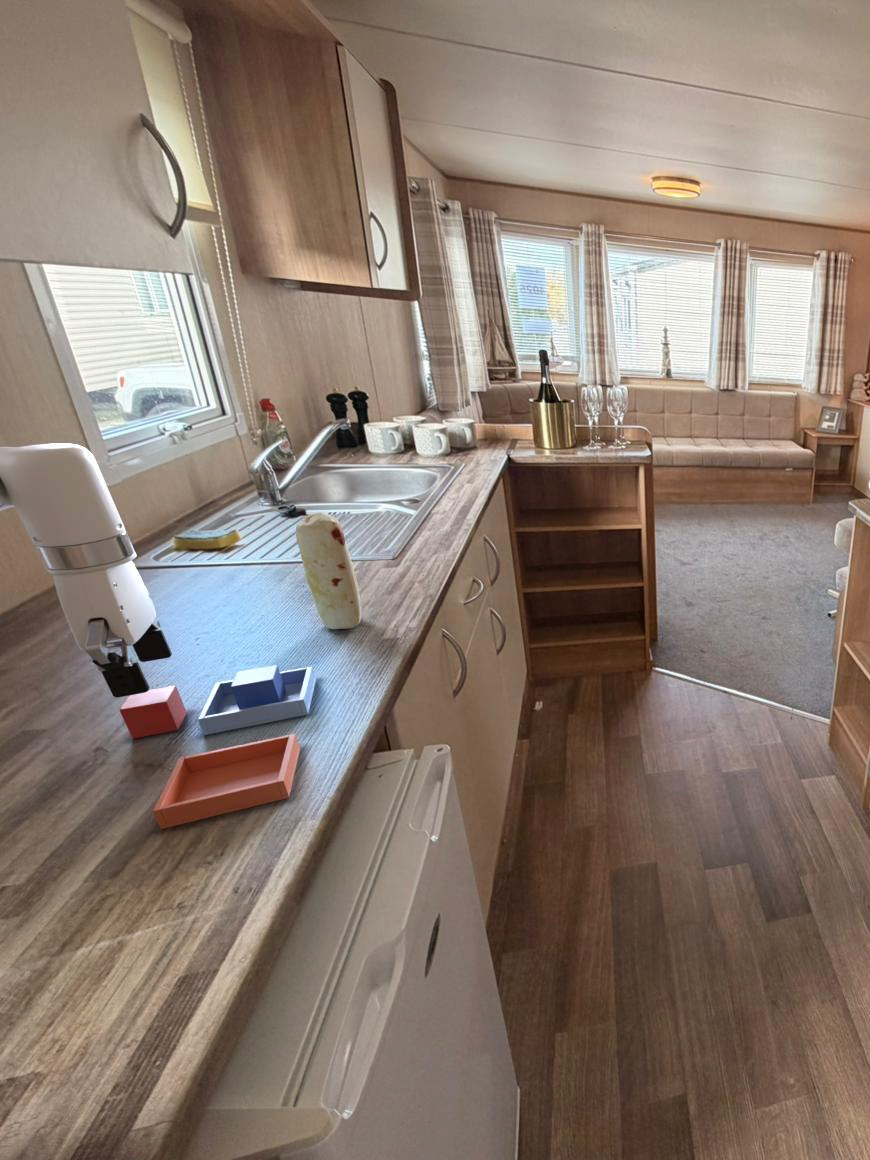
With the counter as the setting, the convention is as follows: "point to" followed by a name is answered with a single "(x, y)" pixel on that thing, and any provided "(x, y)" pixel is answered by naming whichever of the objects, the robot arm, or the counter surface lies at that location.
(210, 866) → the counter surface
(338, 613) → the food model
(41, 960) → the counter surface
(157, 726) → the red block
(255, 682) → the blue block
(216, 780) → the red tray
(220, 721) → the blue tray
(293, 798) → the counter surface
